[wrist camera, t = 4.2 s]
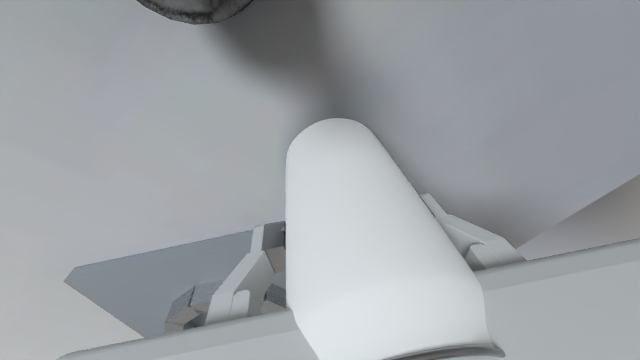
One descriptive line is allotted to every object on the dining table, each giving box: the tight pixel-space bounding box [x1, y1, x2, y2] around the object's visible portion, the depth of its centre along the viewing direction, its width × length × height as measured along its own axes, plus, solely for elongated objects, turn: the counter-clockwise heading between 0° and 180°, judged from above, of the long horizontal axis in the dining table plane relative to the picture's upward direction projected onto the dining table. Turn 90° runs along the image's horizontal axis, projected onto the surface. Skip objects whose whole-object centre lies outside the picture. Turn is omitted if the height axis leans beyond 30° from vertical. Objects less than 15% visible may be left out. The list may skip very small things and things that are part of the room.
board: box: [64, 230, 286, 338], centre depth 24 cm, size 20×20×1 cm
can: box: [286, 118, 506, 360], centre depth 11 cm, size 6×6×12 cm
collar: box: [164, 279, 286, 334], centre depth 23 cm, size 12×12×2 cm
